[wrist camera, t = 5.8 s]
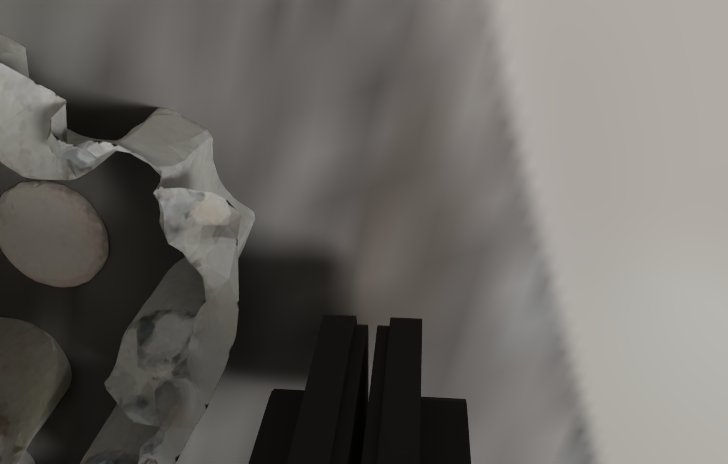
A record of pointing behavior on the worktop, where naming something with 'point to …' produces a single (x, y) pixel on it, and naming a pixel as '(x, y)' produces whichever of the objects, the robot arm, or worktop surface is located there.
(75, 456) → the worktop surface
